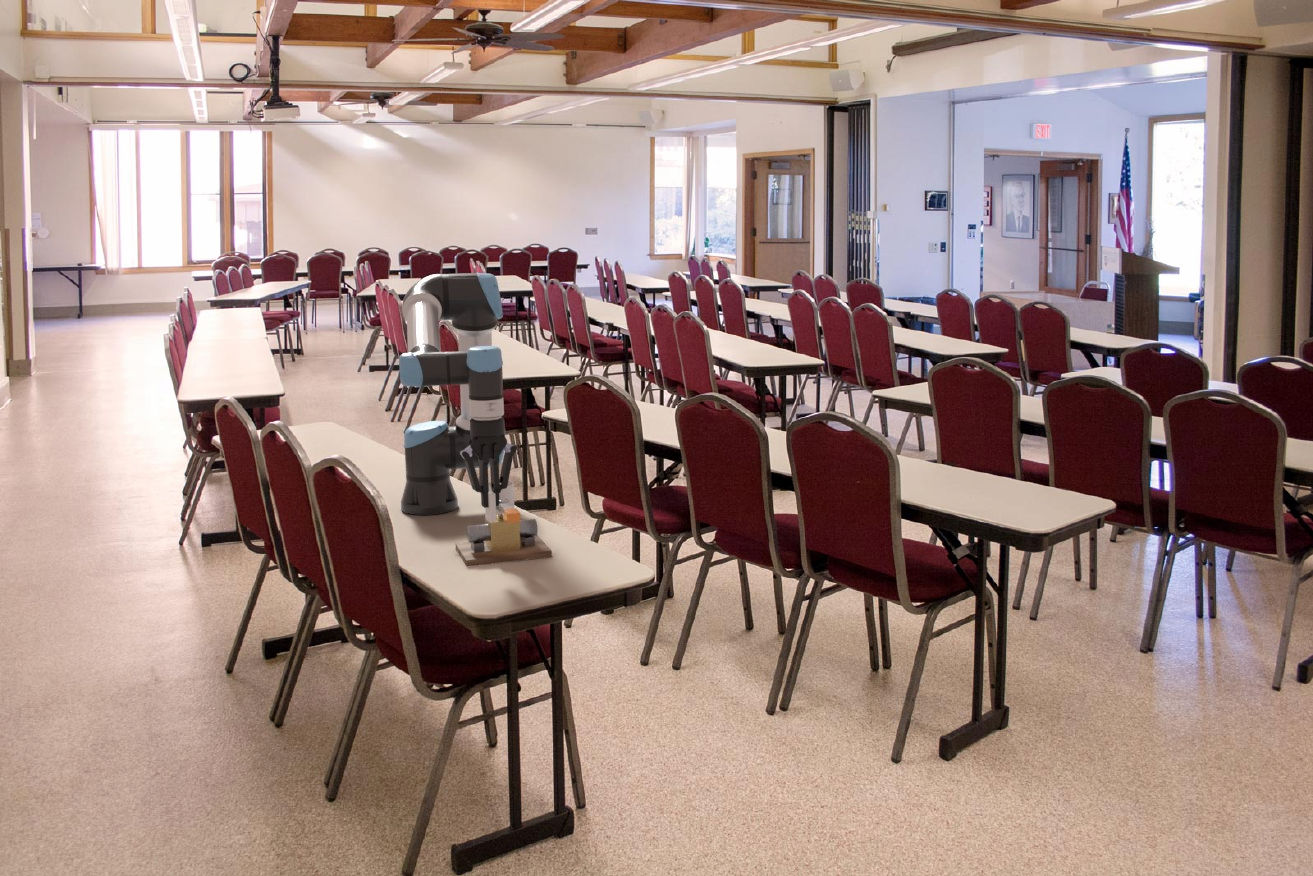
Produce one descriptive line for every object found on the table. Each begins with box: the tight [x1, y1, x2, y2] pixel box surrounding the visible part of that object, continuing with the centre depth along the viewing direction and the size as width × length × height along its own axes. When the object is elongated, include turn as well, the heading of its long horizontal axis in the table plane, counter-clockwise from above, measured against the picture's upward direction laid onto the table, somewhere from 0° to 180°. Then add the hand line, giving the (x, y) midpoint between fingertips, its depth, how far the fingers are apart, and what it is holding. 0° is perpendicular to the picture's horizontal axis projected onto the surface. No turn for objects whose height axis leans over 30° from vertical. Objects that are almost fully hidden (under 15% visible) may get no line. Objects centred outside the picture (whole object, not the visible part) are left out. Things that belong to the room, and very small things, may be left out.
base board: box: [454, 534, 553, 567], centre depth 266 cm, size 14×20×2 cm
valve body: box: [466, 510, 538, 553], centre depth 265 cm, size 7×16×9 cm, turn 110°
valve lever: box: [496, 498, 521, 524], centre depth 259 cm, size 15×4×2 cm, turn 20°
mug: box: [488, 480, 515, 514], centre depth 286 cm, size 10×7×12 cm, turn 19°
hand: (491, 520), depth 252 cm, fingers closed
